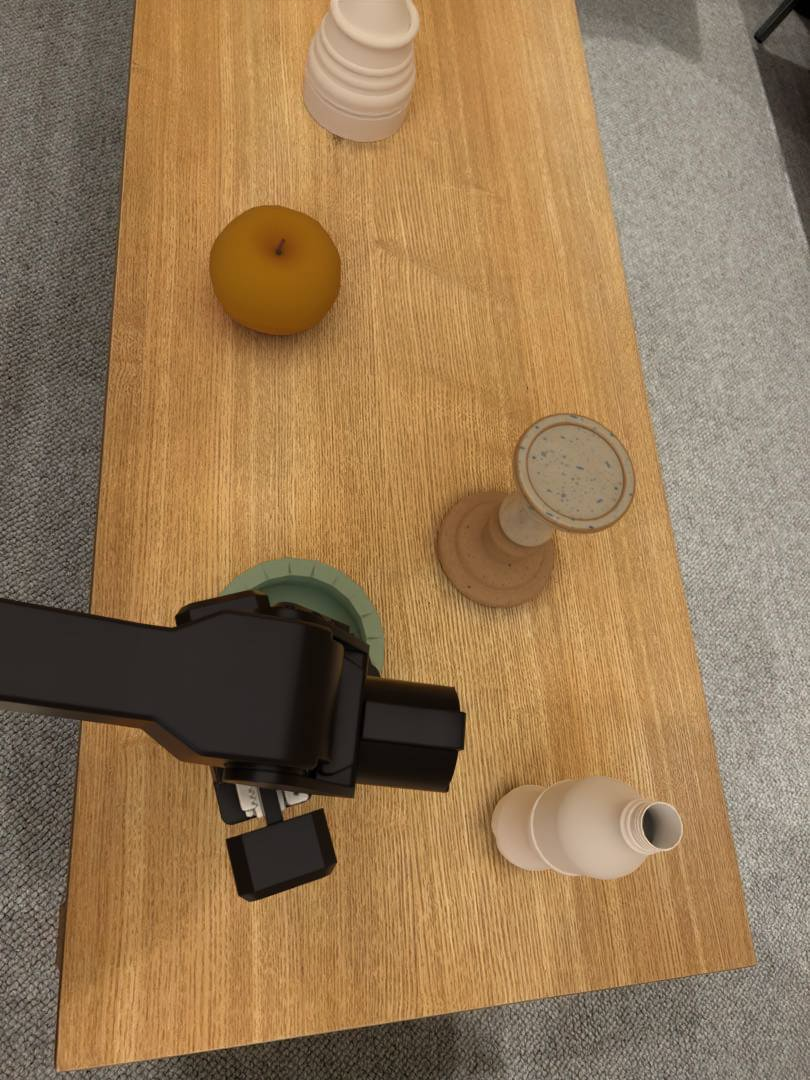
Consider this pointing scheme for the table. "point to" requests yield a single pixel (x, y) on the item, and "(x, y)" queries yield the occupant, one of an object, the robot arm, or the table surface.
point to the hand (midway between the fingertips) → (246, 749)
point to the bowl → (317, 596)
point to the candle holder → (536, 510)
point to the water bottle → (583, 827)
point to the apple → (275, 270)
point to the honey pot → (362, 68)
